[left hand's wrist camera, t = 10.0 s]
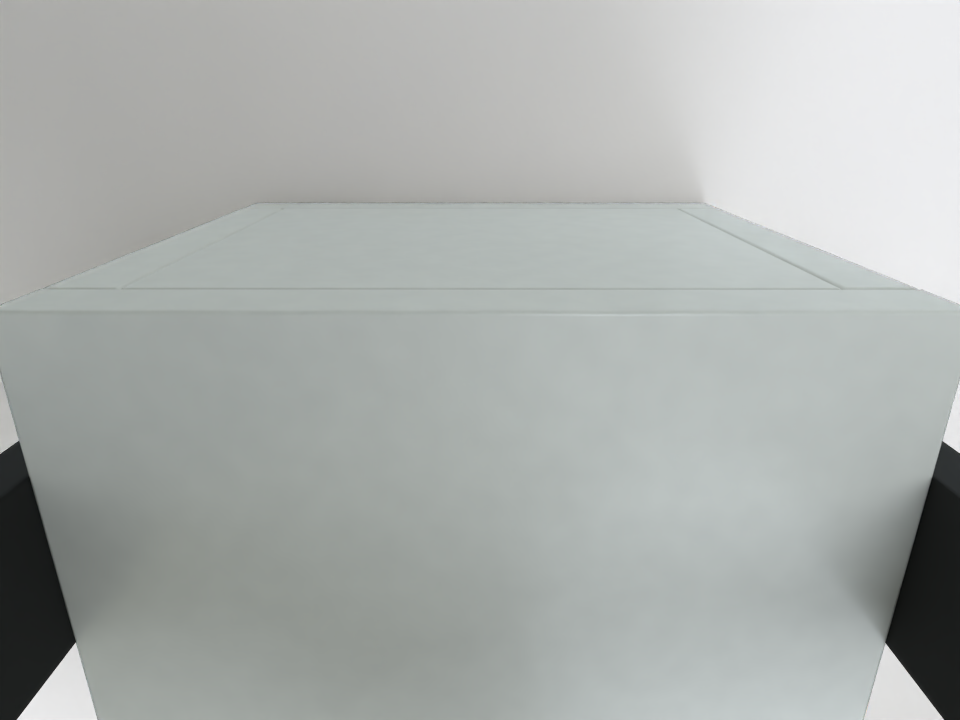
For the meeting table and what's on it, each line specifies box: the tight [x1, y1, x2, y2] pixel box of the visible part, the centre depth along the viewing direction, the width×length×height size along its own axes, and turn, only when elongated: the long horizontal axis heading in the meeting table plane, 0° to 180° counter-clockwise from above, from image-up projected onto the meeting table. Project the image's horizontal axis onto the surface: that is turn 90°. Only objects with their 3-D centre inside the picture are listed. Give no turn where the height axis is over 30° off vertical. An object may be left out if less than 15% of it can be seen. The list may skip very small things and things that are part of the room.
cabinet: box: [0, 203, 960, 720], centre depth 16 cm, size 22×12×10 cm, turn 0°
